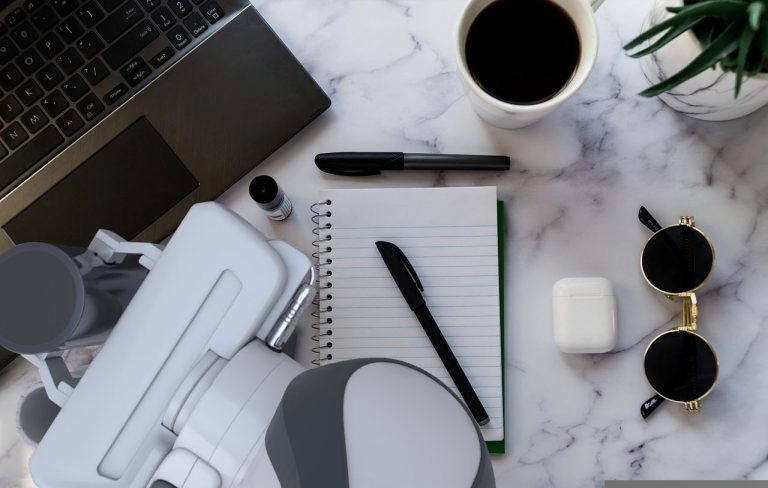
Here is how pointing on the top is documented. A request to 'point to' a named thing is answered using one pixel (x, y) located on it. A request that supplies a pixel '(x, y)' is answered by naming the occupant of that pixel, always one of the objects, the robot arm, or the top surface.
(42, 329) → the grey cylinder
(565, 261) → the top surface
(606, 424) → the top surface
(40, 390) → the mug
